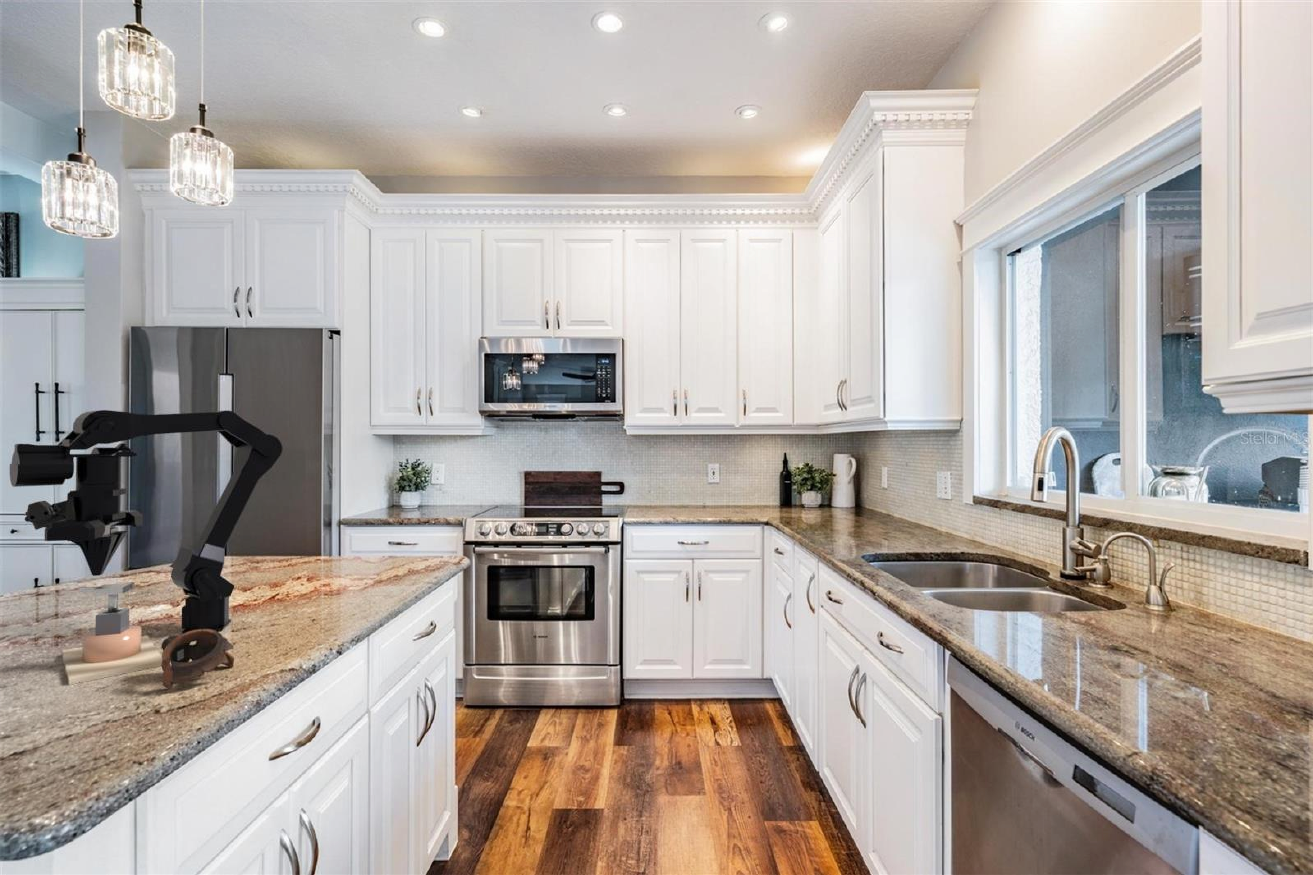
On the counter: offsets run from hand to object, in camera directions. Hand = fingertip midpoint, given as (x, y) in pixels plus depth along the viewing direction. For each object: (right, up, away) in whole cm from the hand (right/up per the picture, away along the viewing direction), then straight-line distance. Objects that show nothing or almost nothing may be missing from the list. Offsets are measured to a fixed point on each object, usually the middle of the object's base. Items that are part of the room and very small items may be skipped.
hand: (97, 575), depth 103 cm
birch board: (+6, -13, -4) cm, 15 cm away
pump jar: (+6, -13, -4) cm, 15 cm away
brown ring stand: (+25, -13, -11) cm, 30 cm away
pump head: (+5, -5, -4) cm, 9 cm away
